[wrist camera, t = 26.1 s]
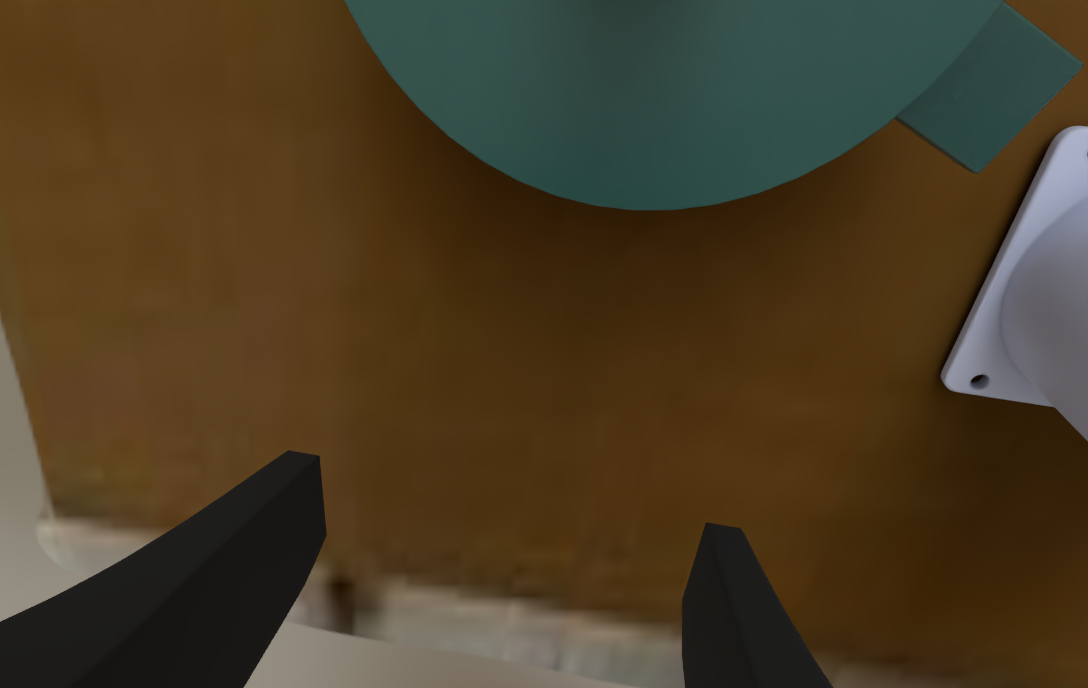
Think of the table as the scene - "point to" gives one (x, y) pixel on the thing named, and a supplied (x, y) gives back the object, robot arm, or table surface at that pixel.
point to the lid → (664, 85)
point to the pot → (991, 90)
